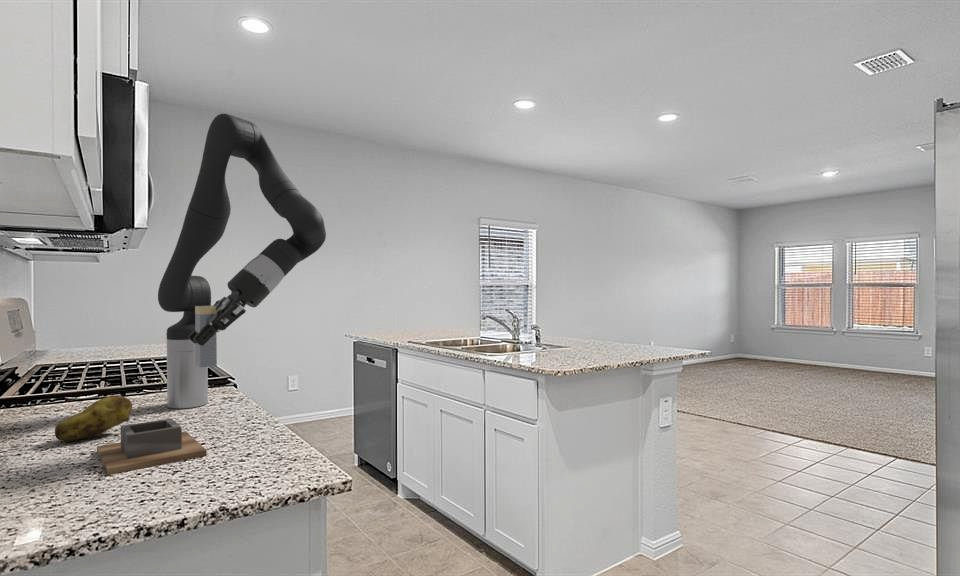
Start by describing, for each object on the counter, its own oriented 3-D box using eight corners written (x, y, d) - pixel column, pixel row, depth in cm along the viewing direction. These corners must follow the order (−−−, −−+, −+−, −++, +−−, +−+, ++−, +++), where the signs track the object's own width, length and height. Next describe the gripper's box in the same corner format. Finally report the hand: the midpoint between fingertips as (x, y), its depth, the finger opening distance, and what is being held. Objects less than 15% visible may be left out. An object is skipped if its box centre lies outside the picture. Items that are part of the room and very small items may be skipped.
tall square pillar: (195, 365, 109) (195, 306, 109) (211, 363, 111) (211, 305, 111) (200, 367, 107) (199, 306, 106) (216, 365, 109) (216, 306, 108)
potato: (58, 437, 111) (57, 398, 111) (132, 427, 118) (132, 391, 118) (53, 447, 104) (52, 406, 104) (132, 436, 111) (132, 397, 111)
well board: (97, 451, 101) (96, 424, 101) (186, 436, 111) (185, 412, 111) (107, 474, 89) (107, 444, 89) (206, 455, 99) (206, 428, 99)
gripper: (233, 268, 119) (171, 327, 111) (255, 267, 108) (188, 332, 100) (258, 292, 122) (199, 350, 115) (281, 293, 112) (219, 357, 104)
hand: (194, 341), depth 107 cm, fingers closed on tall square pillar, 3 cm apart
